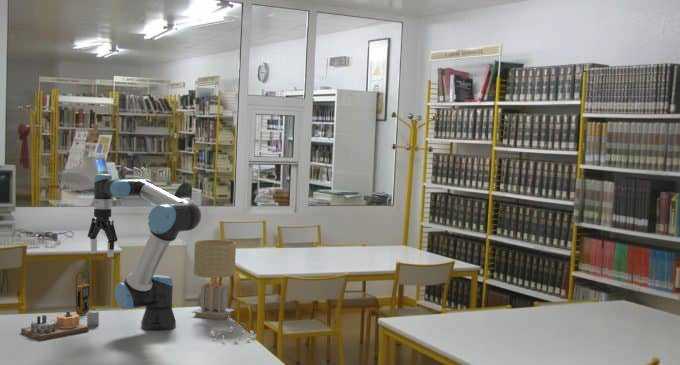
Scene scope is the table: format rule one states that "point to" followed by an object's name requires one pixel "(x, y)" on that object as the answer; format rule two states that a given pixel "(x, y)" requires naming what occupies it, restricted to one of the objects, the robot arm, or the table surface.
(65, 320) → the loose gear
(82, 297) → the multimeter
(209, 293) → the desk lamp
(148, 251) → the robot arm
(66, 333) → the gear board
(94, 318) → the smooth gray pebble
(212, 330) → the game piece set
